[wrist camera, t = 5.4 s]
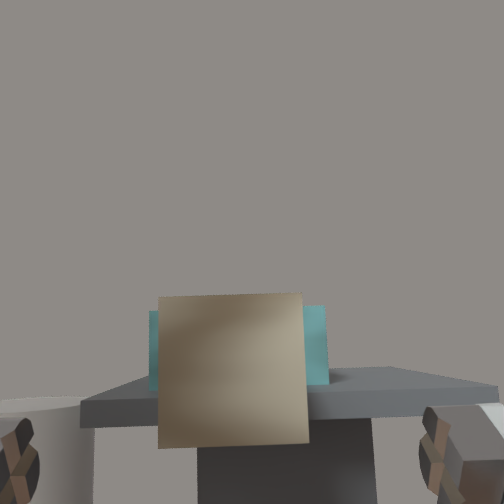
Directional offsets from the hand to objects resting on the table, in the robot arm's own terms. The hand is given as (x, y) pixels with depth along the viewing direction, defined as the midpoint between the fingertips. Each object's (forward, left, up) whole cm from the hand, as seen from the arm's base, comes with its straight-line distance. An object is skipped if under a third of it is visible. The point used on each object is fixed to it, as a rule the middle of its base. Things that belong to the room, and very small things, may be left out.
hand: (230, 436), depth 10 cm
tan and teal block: (0, +10, 0) cm, 9 cm away
